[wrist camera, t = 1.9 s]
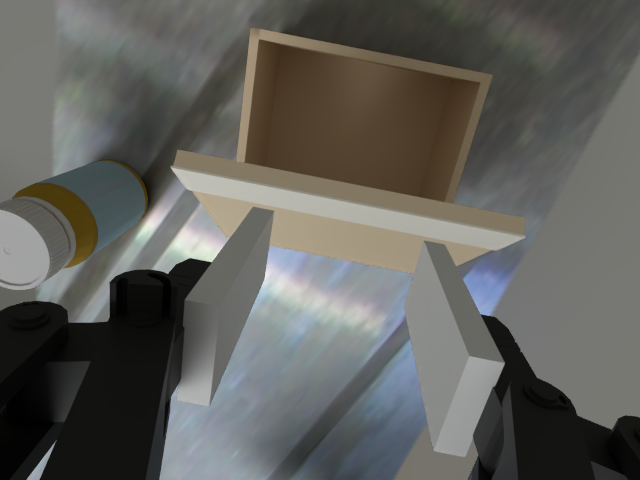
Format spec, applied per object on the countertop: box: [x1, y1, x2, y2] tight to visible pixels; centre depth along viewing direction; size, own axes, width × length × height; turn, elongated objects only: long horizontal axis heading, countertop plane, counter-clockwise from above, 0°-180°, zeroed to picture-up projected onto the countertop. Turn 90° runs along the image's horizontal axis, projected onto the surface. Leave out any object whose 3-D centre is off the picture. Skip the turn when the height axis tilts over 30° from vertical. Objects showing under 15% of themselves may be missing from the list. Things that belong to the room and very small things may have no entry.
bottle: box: [0, 160, 148, 290], centre depth 37 cm, size 7×7×15 cm
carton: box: [236, 27, 493, 204], centre depth 36 cm, size 14×16×10 cm
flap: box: [170, 150, 526, 274], centre depth 26 cm, size 14×16×1 cm
